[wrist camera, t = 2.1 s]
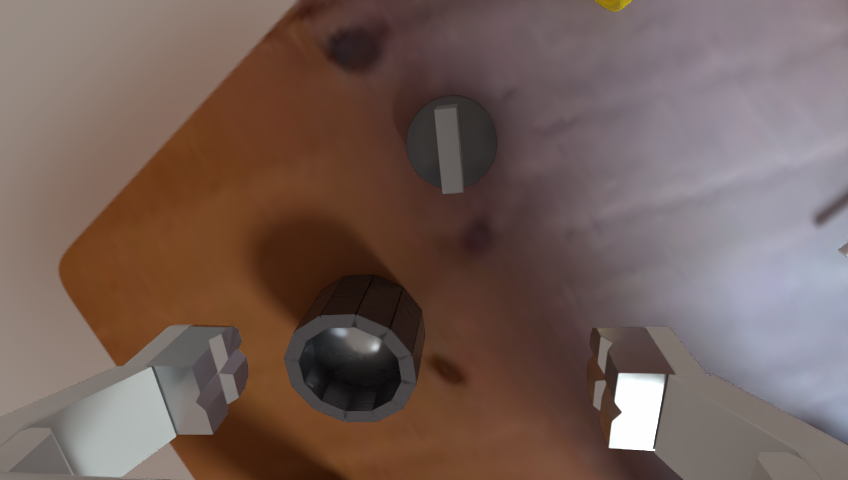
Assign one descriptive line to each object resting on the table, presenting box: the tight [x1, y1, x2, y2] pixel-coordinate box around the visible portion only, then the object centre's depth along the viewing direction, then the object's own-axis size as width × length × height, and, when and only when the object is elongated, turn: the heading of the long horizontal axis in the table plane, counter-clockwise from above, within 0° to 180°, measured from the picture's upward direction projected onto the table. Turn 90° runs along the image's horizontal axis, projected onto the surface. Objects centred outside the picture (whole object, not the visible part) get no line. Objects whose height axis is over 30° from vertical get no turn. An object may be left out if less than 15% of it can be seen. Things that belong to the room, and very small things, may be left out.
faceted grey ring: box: [284, 275, 425, 422], centre depth 32 cm, size 9×9×6 cm
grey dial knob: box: [406, 95, 497, 194], centre depth 27 cm, size 6×6×4 cm
